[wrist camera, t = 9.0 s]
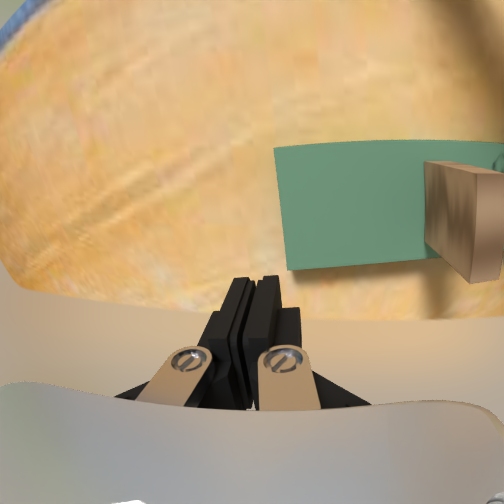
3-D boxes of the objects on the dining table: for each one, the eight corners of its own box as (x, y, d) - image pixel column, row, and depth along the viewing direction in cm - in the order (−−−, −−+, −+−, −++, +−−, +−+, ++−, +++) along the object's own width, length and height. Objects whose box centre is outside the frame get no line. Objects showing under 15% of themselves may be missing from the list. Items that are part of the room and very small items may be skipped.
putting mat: (275, 147, 31) (273, 148, 28) (537, 147, 25) (552, 149, 22) (288, 259, 34) (287, 270, 32) (534, 237, 29) (546, 245, 26)
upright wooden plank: (423, 161, 26) (477, 173, 16) (454, 161, 25) (512, 174, 16) (424, 241, 28) (469, 284, 19) (453, 238, 28) (503, 278, 18)
